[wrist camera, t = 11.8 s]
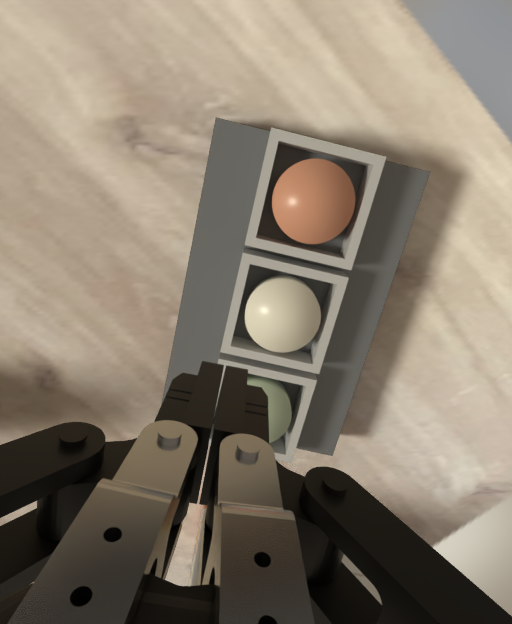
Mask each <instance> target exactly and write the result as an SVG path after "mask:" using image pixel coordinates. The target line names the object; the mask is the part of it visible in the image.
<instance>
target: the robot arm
mask: <svg viewBox="0 0 512 624" xmlns="http://www.w3.org/2000/svg"><path fill="white" fill-rule="evenodd" d="M223 368H224V365H222V364H217V363H211V362H206V361H202V363H201V366H200V369H199V372H198V375H193V374H188V373H181V374H180V375H178V376H177V377H175V378H174V379H173V380H172V382H171V384H170V387H169V390H168V391H167V394H166V397H165V398H164V401H163V403H162V405H161V408H160V410H159V412H158V415H157V417H156V419H155V422H153V423H151V424H149V425H147V426H146V427H145V428H144V429H143V430H142V431H141V433H140V435H139V436H138V438H136V439H132V440H127V441H114V442H105V435H104V433H103V432H102V430H101V429H99V428H98V427H96V426H94V425H92V424H88V423H83V422H69V423H63V424H59V425H56V426H53V427H51V428H48V429H45V430H42V431H39V432H36V433H33V434H31V435H28V436H25V437H22V438H19V439H16V440H13V441H11V442H8V443H5V444H2V445H0V518H1V517H3V516H5V515H7V514H9V513H12V512H14V511H16V510H18V509H20V508H22V507H24V506H26V505H28V504H30V503H33V502H35V501H37V508H36V509H34V510H32V511H30V512H28V513H26V514H24V515H22V516H20V517H18V518H16V519H14V520H12V521H10V522H8V523H6V524H4V525H2V526H0V624H512V616H511V615H509V614H508V613H507V612H506V611H505V610H504V609H502V608H501V607H500V606H499V605H498V604H497V603H495V602H494V601H493V600H492V599H491V598H490V597H489V596H487V595H486V594H485V593H484V592H483V591H482V590H481V589H479V588H478V587H477V586H476V585H475V584H474V583H472V582H471V581H470V580H469V579H468V578H467V577H466V576H464V575H463V574H462V573H461V572H460V571H459V570H458V569H456V568H455V567H454V566H453V565H452V564H451V563H449V562H448V561H447V560H446V559H445V558H444V557H443V556H441V555H440V554H439V553H438V552H437V551H436V550H434V549H433V548H432V547H431V546H430V545H429V544H428V543H426V542H425V541H424V540H423V539H422V538H421V537H419V536H418V535H417V534H416V533H415V532H414V531H413V530H411V529H410V528H409V527H408V526H407V525H406V524H404V523H403V522H402V521H401V520H400V519H399V518H398V517H396V516H395V515H394V514H393V513H392V512H391V511H389V510H388V509H387V508H386V507H385V506H384V505H383V504H381V503H380V502H379V501H378V500H377V499H376V498H375V497H373V496H372V495H371V494H370V493H369V492H368V491H366V490H365V489H364V488H363V487H362V486H361V485H360V484H358V483H357V482H356V481H355V480H354V479H353V478H351V477H350V476H349V475H347V474H346V473H344V472H342V471H340V470H337V469H334V468H330V467H316V468H313V469H311V470H309V471H308V472H307V474H306V476H305V477H304V476H302V475H299V474H297V473H295V472H292V471H290V470H288V469H286V468H285V467H283V466H282V465H281V464H279V463H278V462H277V461H276V459H275V454H274V451H273V449H272V447H271V446H270V445H269V417H268V415H269V414H268V396H267V395H266V393H265V392H264V390H263V389H262V387H257V386H252V385H247V378H248V369H243V368H238V367H233V366H227V365H226V369H225V374H224V379H223V384H222V389H221V394H220V399H219V404H218V409H217V414H216V419H215V424H214V430H213V435H212V440H211V445H210V451H209V456H208V461H207V467H206V472H205V477H204V482H203V488H202V493H201V498H200V504H202V505H207V509H206V515H205V520H204V525H203V530H202V538H201V551H200V565H199V578H198V585H196V586H178V585H175V584H173V583H171V582H168V581H166V580H165V578H166V575H167V572H168V568H169V565H170V562H171V559H172V556H173V553H174V550H175V547H176V544H177V541H178V537H179V534H180V531H181V527H182V522H183V519H184V518H185V516H186V514H187V510H188V506H189V503H195V504H197V500H198V495H199V490H200V485H201V480H202V475H203V470H204V465H205V460H206V455H207V450H208V445H209V439H210V434H211V429H212V424H213V419H214V414H215V409H216V404H217V399H218V394H219V389H220V384H221V379H222V373H223ZM344 554H345V556H346V557H347V558H348V559H349V560H350V561H351V562H352V563H353V564H354V565H355V566H356V567H357V568H358V569H359V570H360V571H361V572H362V574H363V575H364V576H365V577H366V578H367V579H368V580H369V581H370V582H371V583H372V584H373V585H374V587H375V588H376V590H377V591H378V593H379V596H380V598H381V602H382V605H381V604H380V603H379V601H378V600H377V599H376V598H375V597H374V596H373V595H372V594H371V593H370V592H369V591H368V590H367V588H366V587H365V586H364V585H363V584H362V583H361V582H360V581H359V580H358V579H357V578H356V577H355V575H354V574H353V573H352V572H351V571H350V570H349V569H348V568H347V567H346V566H345V565H344V564H343V563H342V558H343V555H344ZM34 581H35V582H34ZM32 582H34V583H32ZM31 583H32V584H31ZM29 584H30V585H29Z"/></svg>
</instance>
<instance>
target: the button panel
mask: <svg viewBox="0 0 512 624" xmlns="http://www.w3.org/2000/svg"><path fill="white" fill-rule="evenodd" d="M307 159H324V160H328V161H331V162H333V163H335V164H336V165H338V166H339V167H341V168H342V169H343V170H344V171H345V173H346V174H347V175H348V177H349V178H350V180H351V182H352V184H353V187H354V192H355V208H354V212H353V215H352V218H351V220H350V221H349V223H348V225H347V226H346V228H345V229H344V230H343V231H342V232H341V233H340V234H339V235H337V236H336V237H334V238H333V239H331V240H329V241H326V242H323V243H319V244H306V243H301V242H298V241H296V240H294V239H292V238H290V237H289V236H288V235H286V234H285V233H284V232H283V231H282V230H281V228H280V227H279V225H278V224H277V222H276V219H275V217H274V214H273V210H272V194H273V190H274V187H275V185H276V182H277V181H278V179H279V177H280V176H281V175H282V174H283V173H284V172H285V171H286V170H287V169H288V168H289V167H291V166H292V165H294V164H296V163H298V162H300V161H303V160H307ZM385 160H386V157H385V156H381V155H378V154H374V153H370V152H366V151H362V150H358V149H354V148H350V147H346V146H342V145H338V144H334V143H331V142H327V141H323V140H319V139H315V138H311V137H307V136H303V135H299V134H295V133H291V132H287V131H284V130H280V129H276V128H272V127H271V131H267V130H263V129H259V128H256V127H252V126H248V125H244V124H240V123H236V122H232V121H228V120H224V119H220V118H216V120H215V125H214V130H213V135H212V141H211V146H210V151H209V157H208V162H207V167H206V172H205V178H204V183H203V188H202V194H201V199H200V204H199V209H198V215H197V220H196V225H195V231H194V236H193V241H192V246H191V252H190V257H189V262H188V268H187V273H186V278H185V283H184V289H183V294H182V299H181V305H180V310H179V315H178V320H177V326H176V331H175V336H174V342H173V347H172V352H171V357H170V363H169V368H168V373H167V379H166V384H165V389H164V394H163V400H162V403H163V401H164V398H165V397H166V394H167V391H168V390H169V387H170V384H171V382H172V380H173V379H174V378H175V377H177V376H178V375H180V374H181V373H188V374H193V375H198V372H199V369H200V366H201V363H202V361H206V362H211V363H217V364H222V365H224V368H223V373H222V379H221V384H220V389H219V394H218V399H217V404H216V409H215V414H214V419H213V424H212V429H211V434H210V439H209V445H208V446H210V445H211V440H212V435H213V430H214V424H215V419H216V414H217V409H218V404H219V399H220V394H221V389H222V384H223V379H224V374H225V369H226V365H227V366H233V367H238V368H243V369H248V375H249V374H253V375H258V376H262V377H267V378H271V379H276V380H278V381H279V382H280V383H281V384H282V385H283V386H284V387H285V388H286V390H287V392H288V394H289V397H290V403H291V411H292V418H291V423H290V425H289V427H288V429H287V431H286V432H285V433H284V434H283V435H282V436H281V437H280V438H279V439H277V440H275V441H274V442H271V443H269V445H270V446H271V447H272V449H273V451H274V454H275V459H276V460H279V461H284V462H288V463H292V460H293V456H294V453H295V450H296V448H298V449H302V450H307V451H312V452H316V453H321V454H326V455H331V456H332V455H333V452H334V450H335V447H336V444H337V441H338V438H339V435H340V432H341V429H342V426H343V423H344V420H345V418H346V415H347V412H348V409H349V406H350V403H351V400H352V397H353V394H354V391H355V389H356V386H357V383H358V380H359V377H360V374H361V371H362V368H363V365H364V362H365V359H366V357H367V354H368V351H369V348H370V345H371V342H372V339H373V336H374V333H375V330H376V327H377V325H378V322H379V319H380V316H381V313H382V310H383V307H384V304H385V301H386V298H387V295H388V293H389V290H390V287H391V284H392V281H393V278H394V275H395V272H396V269H397V266H398V263H399V261H400V258H401V255H402V252H403V249H404V246H405V243H406V240H407V237H408V234H409V231H410V229H411V226H412V223H413V220H414V217H415V214H416V211H417V208H418V205H419V202H420V199H421V197H422V194H423V191H424V188H425V185H426V182H427V179H428V176H429V173H430V172H428V171H424V170H420V169H416V168H412V167H409V166H405V165H401V164H397V163H393V162H389V161H385ZM277 275H287V276H292V277H295V278H298V279H300V280H301V281H303V282H304V283H306V284H307V285H308V286H309V287H310V288H311V290H312V291H313V293H314V295H315V297H316V299H317V301H318V303H319V306H320V311H321V321H320V326H319V328H318V331H317V333H316V335H315V336H314V337H313V339H312V340H311V341H310V342H309V343H308V344H306V345H305V346H303V347H302V348H300V349H298V350H295V351H291V352H284V353H281V352H273V351H270V350H267V349H265V348H263V347H261V346H260V345H259V344H257V343H256V342H255V341H254V340H253V339H252V337H251V336H250V334H249V333H248V330H247V328H246V324H245V309H246V302H247V299H248V297H249V295H250V293H251V291H252V290H253V289H254V287H255V286H256V285H258V284H259V283H260V282H261V281H263V280H265V279H267V278H269V277H272V276H277Z"/></svg>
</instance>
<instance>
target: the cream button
mask: <svg viewBox="0 0 512 624" xmlns="http://www.w3.org/2000/svg"><path fill="white" fill-rule="evenodd" d="M320 321H321V311H320V306H319V303H318V301H317V299H316V297H315V295H314V293H313V291H312V290H311V288H310V287H309V286H308V285H307V284H306V283H304V282H303V281H301V280H300V279H298V278H295V277H292V276H287V275H277V276H272V277H269V278H267V279H265V280H263V281H261V282H260V283H259V284H258V285H256V286H255V287H254V289H253V290H252V291H251V293H250V295H249V297H248V299H247V302H246V309H245V324H246V328H247V330H248V333H249V334H250V336H251V337H252V339H253V340H254V341H255V342H256V343H257V344H259V345H260V346H261V347H263V348H265V349H267V350H270V351H273V352H281V353H284V352H291V351H295V350H298V349H300V348H302V347H303V346H305V345H306V344H308V343H309V342H310V341H311V340H312V339H313V337H314V336H315V335H316V333H317V331H318V328H319V326H320Z"/></svg>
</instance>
